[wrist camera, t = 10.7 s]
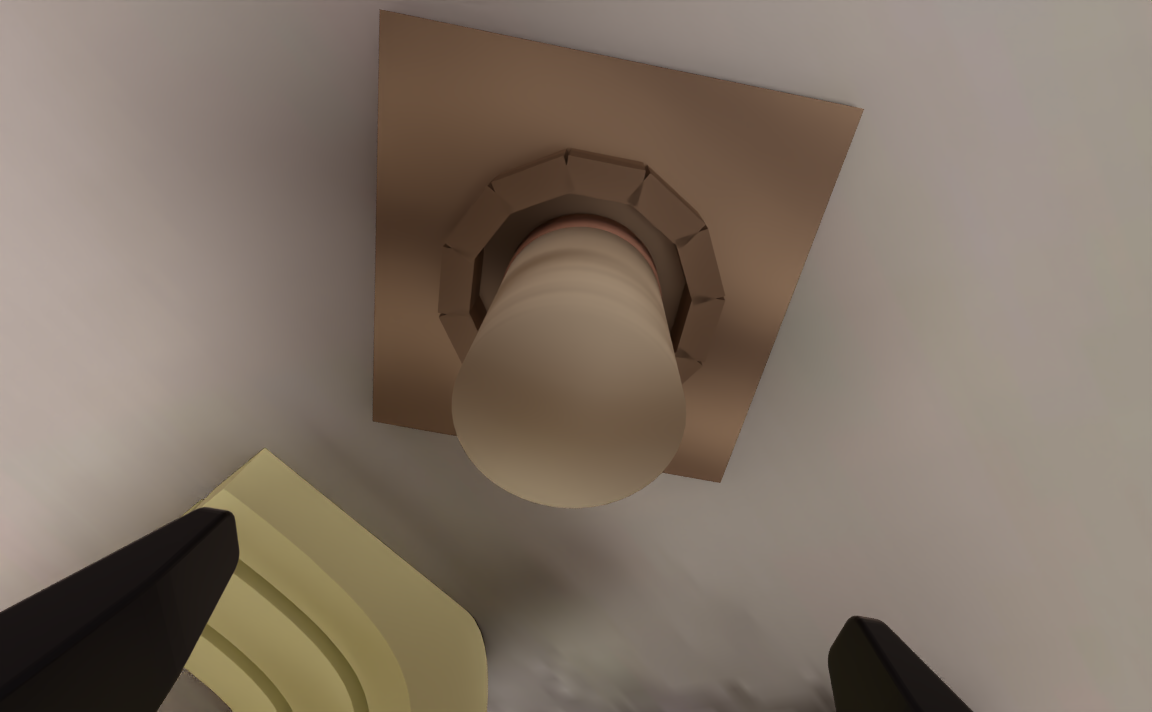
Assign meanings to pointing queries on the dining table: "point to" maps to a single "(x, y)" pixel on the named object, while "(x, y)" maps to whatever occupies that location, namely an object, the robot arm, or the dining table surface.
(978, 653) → the dining table surface
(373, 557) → the slatted curved stool
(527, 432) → the beige rounded peg
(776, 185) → the walnut socket
